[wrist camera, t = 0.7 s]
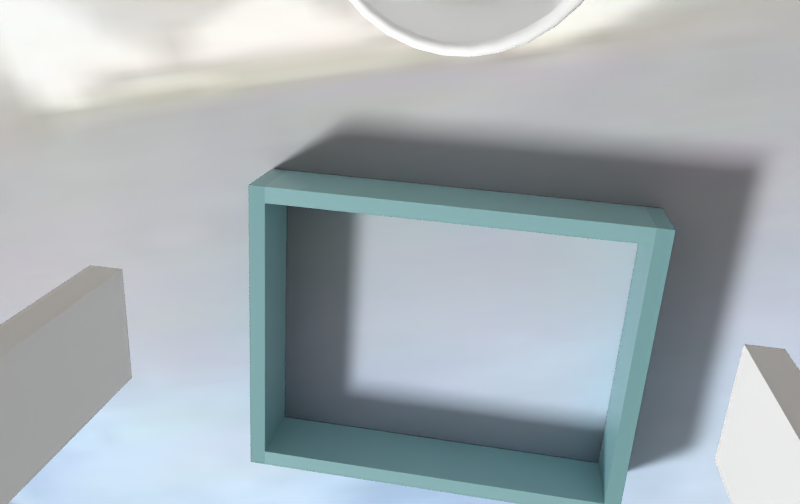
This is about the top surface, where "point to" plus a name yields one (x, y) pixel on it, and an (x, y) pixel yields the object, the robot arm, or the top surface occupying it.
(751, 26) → the top surface
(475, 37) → the cup
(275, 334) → the walled box
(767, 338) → the top surface
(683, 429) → the top surface
